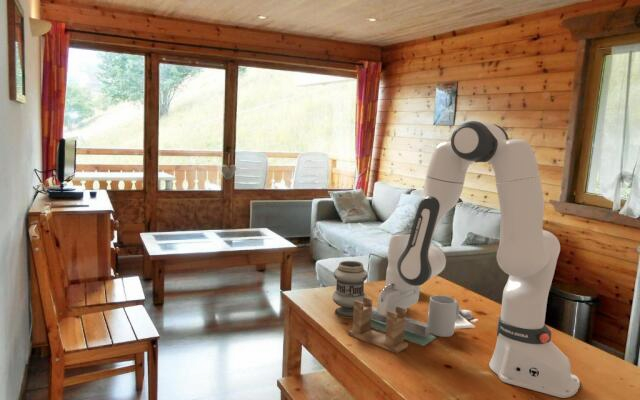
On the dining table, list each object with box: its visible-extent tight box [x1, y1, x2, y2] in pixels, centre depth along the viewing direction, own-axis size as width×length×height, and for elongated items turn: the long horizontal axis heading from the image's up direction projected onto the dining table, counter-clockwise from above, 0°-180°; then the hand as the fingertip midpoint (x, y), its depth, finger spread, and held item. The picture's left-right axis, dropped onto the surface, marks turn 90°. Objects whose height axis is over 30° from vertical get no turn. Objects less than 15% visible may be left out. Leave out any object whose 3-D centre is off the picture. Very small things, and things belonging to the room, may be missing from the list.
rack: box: [347, 297, 409, 354], centre depth 149 cm, size 18×6×11 cm, turn 50°
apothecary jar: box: [331, 260, 368, 319], centre depth 170 cm, size 12×12×18 cm
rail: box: [371, 305, 431, 337], centre depth 158 cm, size 22×3×3 cm, turn 50°
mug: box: [427, 294, 461, 338], centre depth 160 cm, size 12×8×11 cm
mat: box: [371, 319, 436, 347], centre depth 158 cm, size 24×8×1 cm, turn 50°
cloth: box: [427, 308, 479, 330], centre depth 173 cm, size 22×19×6 cm
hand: (397, 322), depth 158 cm, fingers closed on rail, 3 cm apart
